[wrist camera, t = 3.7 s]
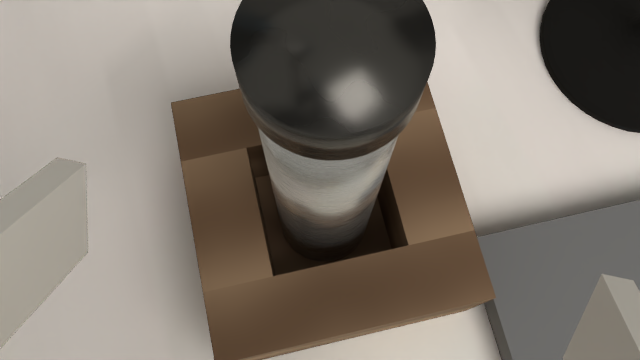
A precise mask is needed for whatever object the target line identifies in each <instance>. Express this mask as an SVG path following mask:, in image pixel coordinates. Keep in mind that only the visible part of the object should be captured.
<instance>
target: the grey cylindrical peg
mask: <svg viewBox="0 0 640 360" xmlns="http://www.w3.org/2000/svg"><path fill="white" fill-rule="evenodd" d="M230 48H231V56H232V61H233V65H234V69H235V72H236V76H237V80H238V83H239V87H240V91H241V94H242V98H243V101H244V104H245V107H246V109H247V111H248V113H249V115H250V116H251V118H252V120H253V121H254V123H255V124H256V125H257V126H258V129H259V134H260V138H261V142H262V146H263V150H264V155H265V159H266V163H267V167H268V171H269V175H270V180H271V184H272V188H273V192H274V196H275V201H276V205H277V209H278V213H279V217H280V221H281V226H282V230H283V233H284V236H285V238H286V240H287V242H288V243H289V245H290V246H291V247H292V248H293V249H294V250H295V251H296V252H297V253H299V254H300V255H302V256H303V257H305V258H308V259H310V260H314V261H321V262H328V261H334V260H337V259H340V258H342V257H344V256H346V255H348V254H349V253H350V252H352V251H353V250H354V249H355V248H356V247H357V246H358V244H359V243H360V241H361V239H362V237H363V235H364V232H365V229H366V226H367V224H368V221H369V218H370V215H371V212H372V209H373V206H374V204H375V201H376V198H377V195H378V192H379V189H380V187H381V184H382V181H383V178H384V175H385V172H386V169H387V167H388V164H389V161H390V158H391V155H392V152H393V150H394V147H395V144H396V141H397V138H398V135H399V134H400V133H401V132H402V131H403V130H404V128H405V127H406V126H407V124H408V123H409V122H410V120H411V119H412V117H413V115H414V113H415V111H416V109H417V107H418V104H419V102H420V99H421V96H422V94H423V91H424V89H425V86H426V83H427V81H428V78H429V75H430V73H431V70H432V67H433V63H434V58H435V48H436V40H435V30H434V26H433V22H432V19H431V16H430V14H429V11H428V9H427V7H426V5H425V4H424V2H423V0H242V2H241V4H240V6H239V8H238V10H237V12H236V14H235V18H234V21H233V24H232V30H231V39H230Z"/></svg>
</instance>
